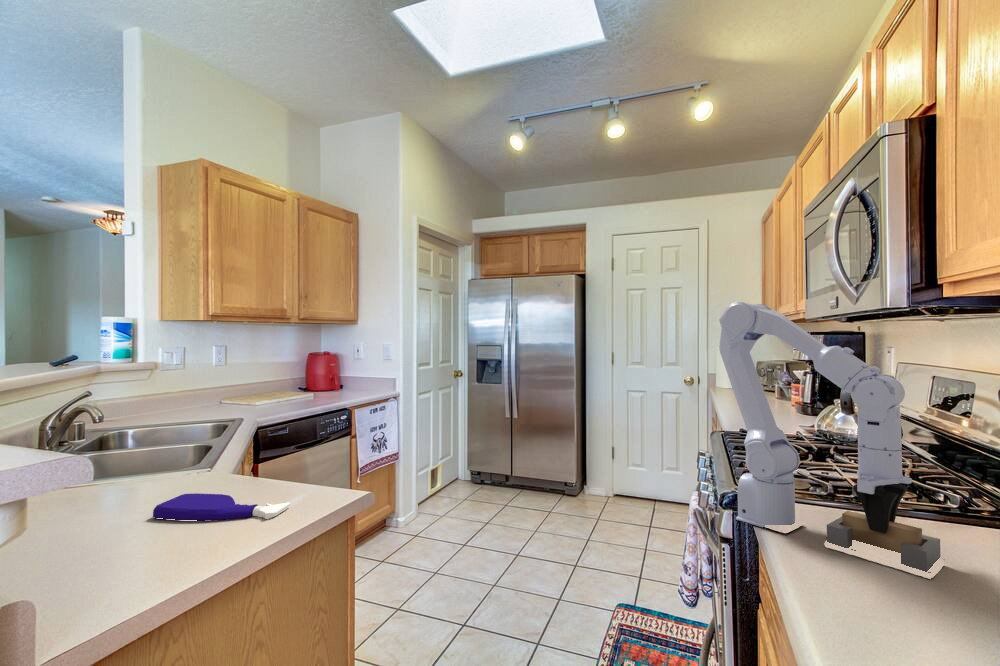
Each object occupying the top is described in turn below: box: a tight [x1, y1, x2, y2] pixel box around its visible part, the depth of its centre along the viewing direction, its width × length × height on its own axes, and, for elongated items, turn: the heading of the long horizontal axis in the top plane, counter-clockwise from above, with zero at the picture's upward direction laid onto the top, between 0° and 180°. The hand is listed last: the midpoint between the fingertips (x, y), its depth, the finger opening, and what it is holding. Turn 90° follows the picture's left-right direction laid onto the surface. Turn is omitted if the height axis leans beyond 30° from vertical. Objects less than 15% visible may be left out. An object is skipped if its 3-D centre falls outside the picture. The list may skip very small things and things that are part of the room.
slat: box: [841, 510, 923, 553], centre depth 78 cm, size 10×2×4 cm, turn 36°
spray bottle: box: [152, 492, 291, 522], centre depth 97 cm, size 3×11×24 cm
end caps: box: [826, 516, 942, 572], centre depth 78 cm, size 13×8×3 cm, turn 36°
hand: (881, 529), depth 78 cm, fingers closed on slat, 2 cm apart
